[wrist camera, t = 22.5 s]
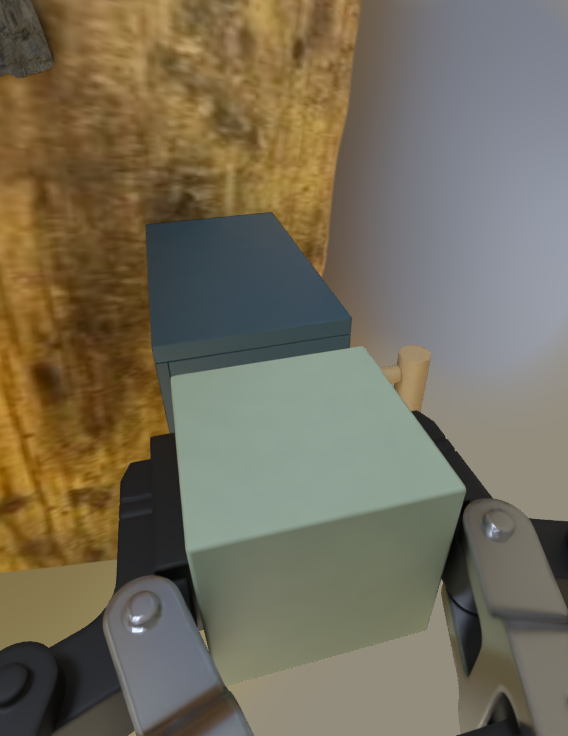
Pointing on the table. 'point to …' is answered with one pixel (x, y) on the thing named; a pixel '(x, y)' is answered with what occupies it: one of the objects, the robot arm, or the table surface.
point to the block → (308, 509)
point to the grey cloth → (22, 40)
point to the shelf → (246, 303)
